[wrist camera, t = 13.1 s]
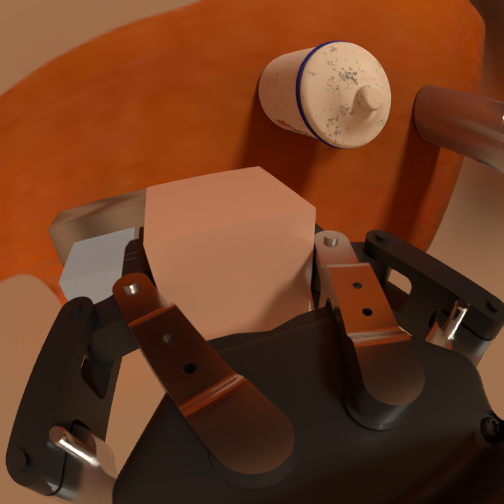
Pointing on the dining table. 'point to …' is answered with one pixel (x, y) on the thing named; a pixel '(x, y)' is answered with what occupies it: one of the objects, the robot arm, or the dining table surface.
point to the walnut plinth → (97, 220)
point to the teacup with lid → (327, 94)
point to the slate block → (95, 265)
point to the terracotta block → (231, 250)
